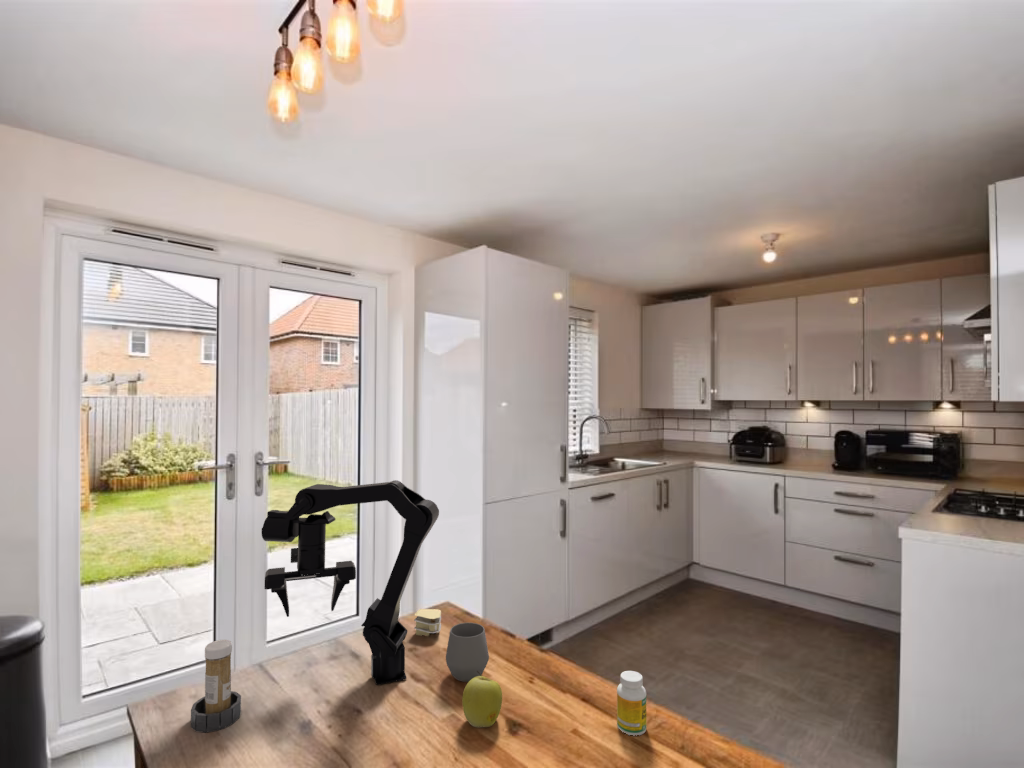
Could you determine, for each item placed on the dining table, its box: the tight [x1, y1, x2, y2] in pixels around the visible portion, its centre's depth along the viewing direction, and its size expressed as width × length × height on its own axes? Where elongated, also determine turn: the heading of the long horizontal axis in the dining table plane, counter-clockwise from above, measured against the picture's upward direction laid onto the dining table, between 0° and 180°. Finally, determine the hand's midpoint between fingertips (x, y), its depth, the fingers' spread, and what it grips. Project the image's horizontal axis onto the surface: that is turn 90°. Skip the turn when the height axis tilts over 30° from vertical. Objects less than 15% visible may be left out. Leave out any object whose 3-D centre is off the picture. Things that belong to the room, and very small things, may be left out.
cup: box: [445, 622, 490, 683], centre depth 119 cm, size 10×9×10 cm
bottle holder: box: [190, 690, 242, 734], centre depth 103 cm, size 8×8×3 cm
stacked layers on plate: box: [413, 608, 442, 637], centre depth 140 cm, size 10×9×6 cm
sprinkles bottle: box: [204, 639, 233, 714], centre depth 103 cm, size 5×5×14 cm
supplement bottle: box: [616, 670, 647, 737], centre depth 100 cm, size 5×5×10 cm
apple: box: [461, 671, 503, 728], centre depth 103 cm, size 8×8×10 cm
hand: (310, 613), depth 121 cm, fingers open, 9 cm apart
